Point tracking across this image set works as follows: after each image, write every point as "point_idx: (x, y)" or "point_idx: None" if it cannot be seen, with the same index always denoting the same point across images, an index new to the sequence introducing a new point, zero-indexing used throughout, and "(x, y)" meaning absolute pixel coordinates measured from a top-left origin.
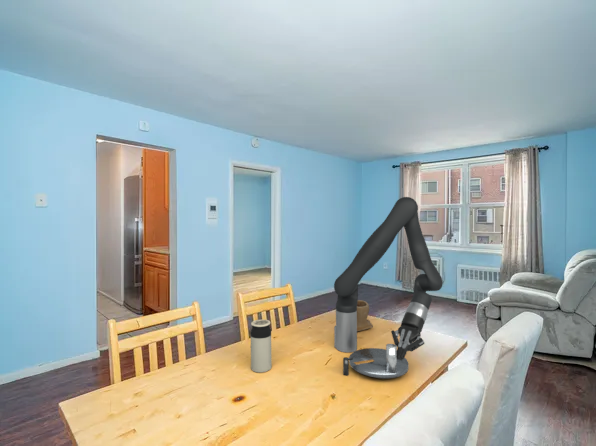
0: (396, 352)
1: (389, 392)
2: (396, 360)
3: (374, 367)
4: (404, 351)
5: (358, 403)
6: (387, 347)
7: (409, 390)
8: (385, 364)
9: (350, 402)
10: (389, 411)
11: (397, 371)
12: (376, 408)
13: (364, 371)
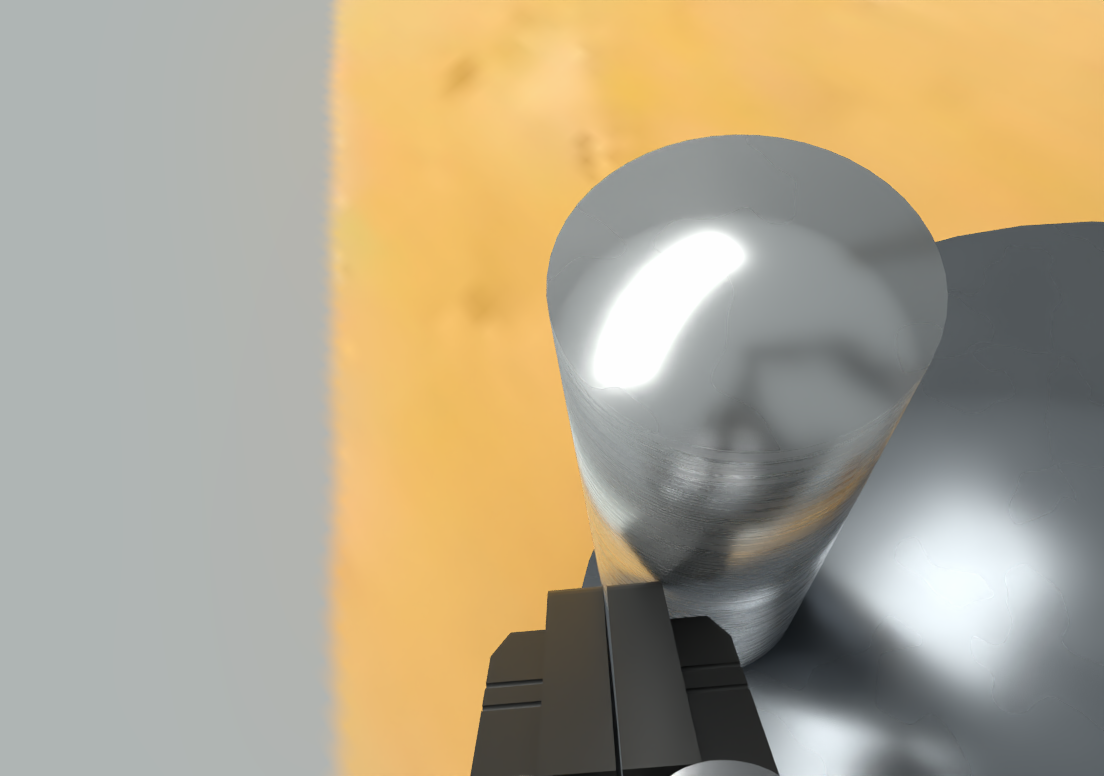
0: (575, 436)
1: (519, 372)
2: (590, 523)
3: (964, 427)
4: (475, 768)
5: (596, 46)
6: (760, 159)
7: (365, 608)
8: (970, 702)
9: (651, 12)
10: (336, 152)
11: (609, 639)
12: (442, 105)
13: (945, 247)
